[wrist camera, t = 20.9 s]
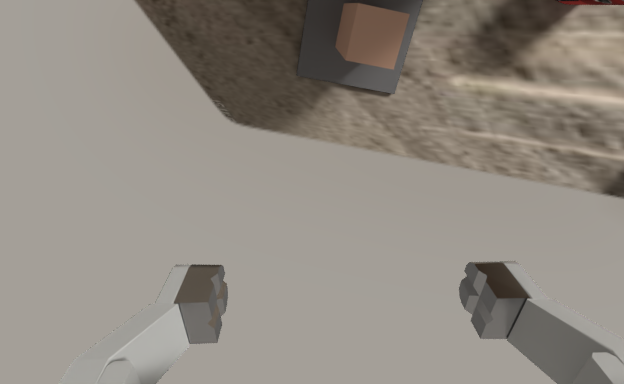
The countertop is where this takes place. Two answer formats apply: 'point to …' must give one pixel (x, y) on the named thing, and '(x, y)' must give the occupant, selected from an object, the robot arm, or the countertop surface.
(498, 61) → the countertop surface
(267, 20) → the countertop surface
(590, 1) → the canned food
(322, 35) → the mat
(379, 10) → the block
